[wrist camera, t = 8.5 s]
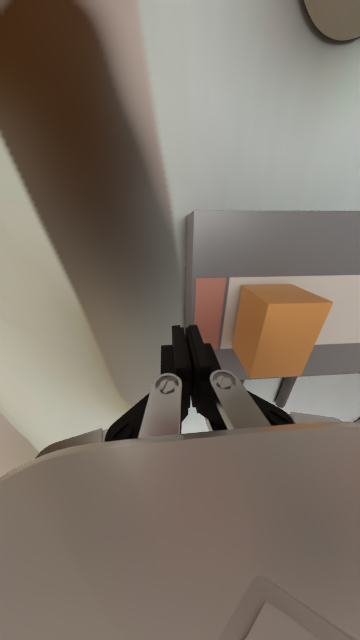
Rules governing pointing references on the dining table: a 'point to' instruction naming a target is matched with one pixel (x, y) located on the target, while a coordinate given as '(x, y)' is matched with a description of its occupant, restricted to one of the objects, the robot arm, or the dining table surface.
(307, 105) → the dining table surface
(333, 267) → the box
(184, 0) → the dining table surface
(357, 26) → the travel mug
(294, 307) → the knob
